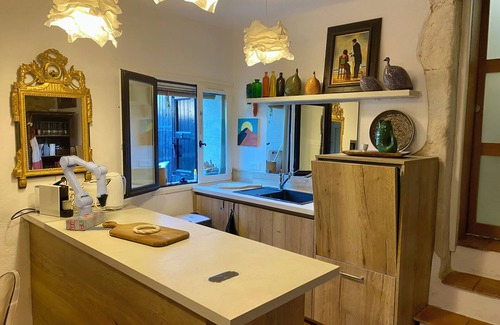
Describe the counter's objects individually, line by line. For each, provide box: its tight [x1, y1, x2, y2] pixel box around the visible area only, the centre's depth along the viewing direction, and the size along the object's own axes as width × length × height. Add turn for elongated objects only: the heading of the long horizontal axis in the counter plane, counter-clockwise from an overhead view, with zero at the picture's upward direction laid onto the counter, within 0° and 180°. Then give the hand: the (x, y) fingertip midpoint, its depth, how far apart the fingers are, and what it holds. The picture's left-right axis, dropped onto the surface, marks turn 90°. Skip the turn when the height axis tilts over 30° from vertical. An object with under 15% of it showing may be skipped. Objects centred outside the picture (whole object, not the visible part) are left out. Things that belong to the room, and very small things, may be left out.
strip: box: [76, 226, 113, 232], centre depth 220 cm, size 6×20×1 cm, turn 95°
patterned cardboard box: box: [65, 211, 106, 231], centre depth 226 cm, size 21×6×12 cm
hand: (103, 206), depth 233 cm, fingers open, 2 cm apart
